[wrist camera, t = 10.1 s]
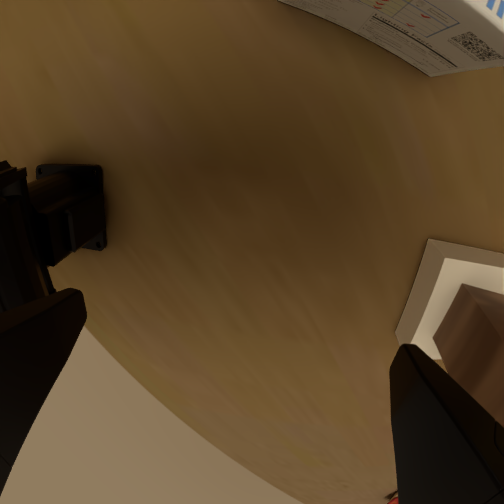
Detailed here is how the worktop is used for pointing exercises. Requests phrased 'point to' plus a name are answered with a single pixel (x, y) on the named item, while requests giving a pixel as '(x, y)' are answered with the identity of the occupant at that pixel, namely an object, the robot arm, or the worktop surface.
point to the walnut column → (475, 346)
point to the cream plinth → (445, 288)
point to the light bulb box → (423, 29)
